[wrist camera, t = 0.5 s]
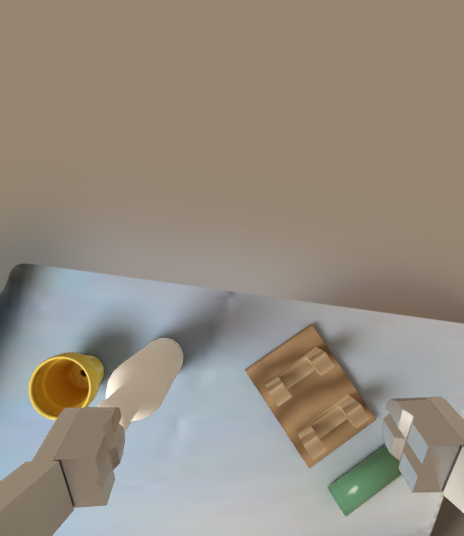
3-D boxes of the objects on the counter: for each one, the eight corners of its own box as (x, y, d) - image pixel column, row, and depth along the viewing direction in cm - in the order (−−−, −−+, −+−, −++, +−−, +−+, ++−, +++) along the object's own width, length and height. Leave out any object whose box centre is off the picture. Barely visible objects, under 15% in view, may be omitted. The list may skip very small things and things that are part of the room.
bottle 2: (338, 502, 59) (350, 523, 54) (324, 481, 59) (334, 500, 54) (423, 438, 60) (442, 453, 55) (410, 417, 60) (427, 430, 55)
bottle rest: (372, 416, 60) (390, 431, 54) (307, 464, 59) (317, 485, 52) (310, 324, 61) (321, 328, 55) (245, 369, 60) (248, 379, 53)
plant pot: (50, 386, 58) (15, 405, 49) (74, 336, 59) (45, 345, 49) (98, 408, 58) (74, 431, 49) (122, 358, 59) (102, 371, 49)
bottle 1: (183, 335, 60) (145, 380, 30) (185, 376, 59) (148, 462, 29) (142, 338, 60) (63, 386, 30) (144, 379, 59) (65, 469, 29)
